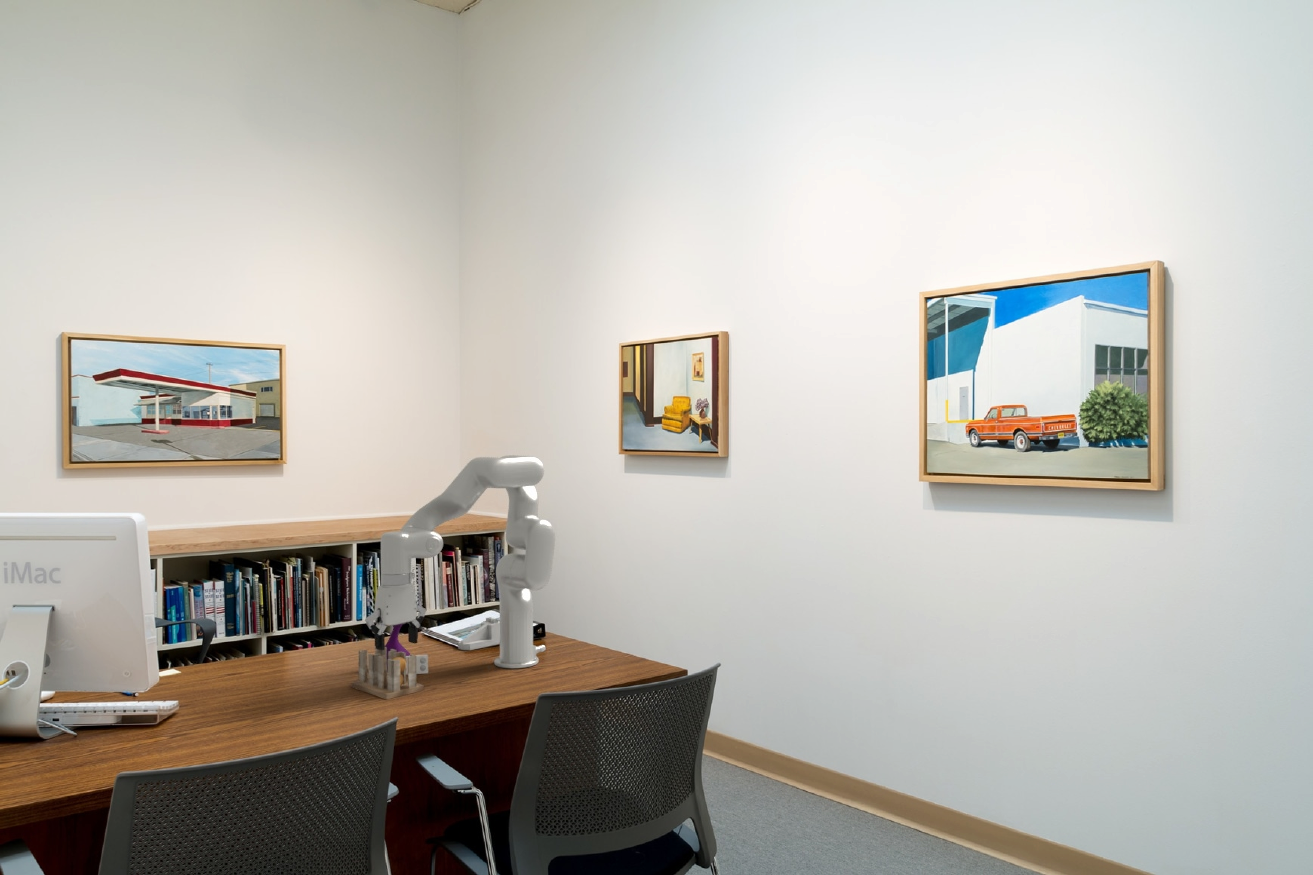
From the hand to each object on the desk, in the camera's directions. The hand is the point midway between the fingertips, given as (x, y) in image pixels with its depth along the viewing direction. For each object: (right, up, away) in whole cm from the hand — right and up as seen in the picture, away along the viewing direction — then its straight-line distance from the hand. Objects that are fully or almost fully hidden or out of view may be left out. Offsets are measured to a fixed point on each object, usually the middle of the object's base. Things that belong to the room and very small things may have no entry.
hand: (396, 645), depth 233 cm
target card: (0, -12, +17) cm, 21 cm away
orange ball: (0, -5, -1) cm, 5 cm away
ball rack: (-3, -12, +3) cm, 13 cm away
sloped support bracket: (+13, -12, +52) cm, 55 cm away
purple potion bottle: (-8, -12, +24) cm, 28 cm away
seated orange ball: (0, -11, 0) cm, 10 cm away
